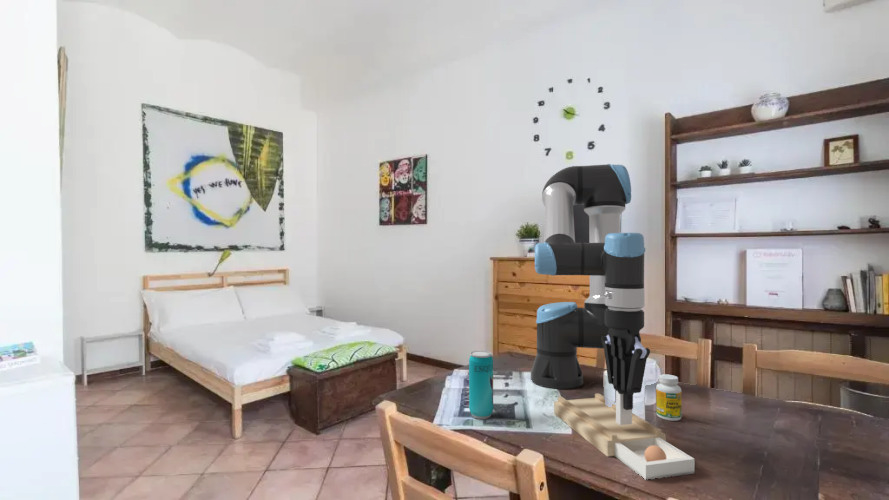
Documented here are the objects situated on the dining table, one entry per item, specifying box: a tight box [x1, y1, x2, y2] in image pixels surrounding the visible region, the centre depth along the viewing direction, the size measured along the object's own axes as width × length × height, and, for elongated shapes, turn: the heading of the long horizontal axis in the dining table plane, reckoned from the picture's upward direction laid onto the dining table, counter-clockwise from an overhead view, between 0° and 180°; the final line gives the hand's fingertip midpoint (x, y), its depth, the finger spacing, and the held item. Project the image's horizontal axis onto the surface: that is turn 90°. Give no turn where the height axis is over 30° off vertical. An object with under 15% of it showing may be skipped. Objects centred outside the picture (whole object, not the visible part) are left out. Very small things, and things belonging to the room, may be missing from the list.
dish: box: [613, 437, 696, 481], centre depth 82 cm, size 10×10×3 cm
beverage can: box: [468, 350, 494, 420], centre depth 105 cm, size 6×6×15 cm
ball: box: [645, 445, 666, 462], centre depth 80 cm, size 4×4×4 cm
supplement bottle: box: [655, 373, 683, 422], centre depth 104 cm, size 5×5×10 cm
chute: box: [553, 392, 667, 457], centre depth 96 cm, size 22×13×4 cm, turn 13°
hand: (623, 422), depth 90 cm, fingers closed
